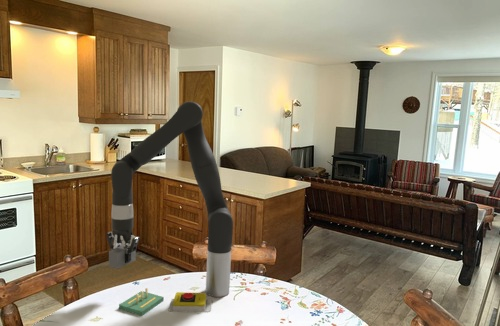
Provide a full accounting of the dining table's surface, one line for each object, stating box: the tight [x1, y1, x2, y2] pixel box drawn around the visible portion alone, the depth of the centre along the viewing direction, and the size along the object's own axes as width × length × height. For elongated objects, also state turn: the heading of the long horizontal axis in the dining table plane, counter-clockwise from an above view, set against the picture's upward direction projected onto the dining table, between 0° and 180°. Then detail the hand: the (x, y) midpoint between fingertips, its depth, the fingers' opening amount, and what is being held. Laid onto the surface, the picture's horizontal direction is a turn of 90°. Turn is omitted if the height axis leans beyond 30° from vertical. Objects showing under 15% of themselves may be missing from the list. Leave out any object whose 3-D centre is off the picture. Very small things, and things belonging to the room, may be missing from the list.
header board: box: [118, 287, 164, 317], centre depth 134 cm, size 12×10×5 cm
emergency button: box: [168, 291, 213, 313], centre depth 135 cm, size 9×4×15 cm
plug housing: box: [108, 243, 137, 270], centre depth 137 cm, size 10×4×6 cm, turn 157°
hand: (122, 261), depth 137 cm, fingers closed on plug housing, 4 cm apart
